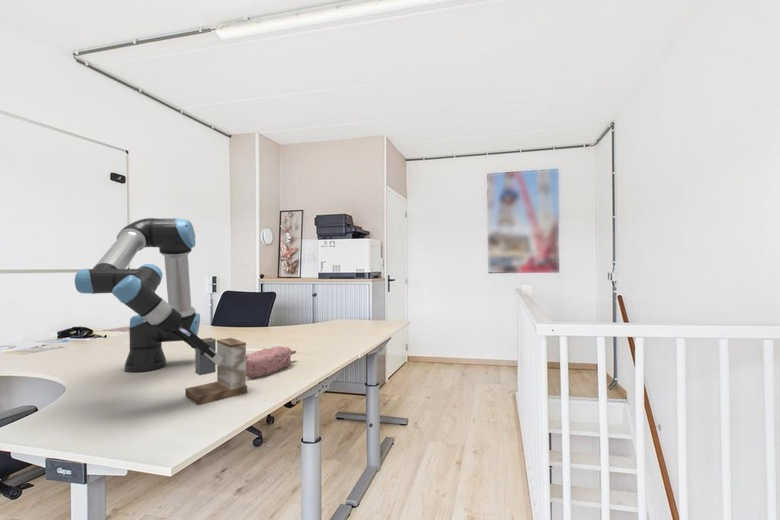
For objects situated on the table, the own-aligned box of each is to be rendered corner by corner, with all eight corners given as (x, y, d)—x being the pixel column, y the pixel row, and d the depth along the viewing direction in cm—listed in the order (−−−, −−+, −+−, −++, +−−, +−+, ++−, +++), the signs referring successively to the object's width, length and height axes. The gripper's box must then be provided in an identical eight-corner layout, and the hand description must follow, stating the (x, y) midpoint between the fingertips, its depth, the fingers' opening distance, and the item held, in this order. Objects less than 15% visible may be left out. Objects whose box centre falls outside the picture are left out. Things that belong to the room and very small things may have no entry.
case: (199, 375, 125) (199, 341, 125) (195, 372, 128) (195, 339, 128) (215, 372, 129) (215, 339, 129) (211, 369, 132) (211, 337, 132)
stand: (198, 405, 121) (198, 350, 121) (185, 395, 130) (185, 344, 130) (247, 392, 133) (247, 342, 133) (232, 384, 141) (232, 337, 141)
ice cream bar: (305, 343, 172) (255, 359, 145) (305, 363, 172) (255, 382, 145) (283, 341, 178) (230, 355, 151) (283, 360, 178) (230, 377, 151)
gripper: (145, 323, 124) (200, 365, 135) (161, 329, 112) (219, 374, 123) (164, 305, 128) (215, 347, 139) (181, 309, 116) (235, 355, 127)
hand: (217, 360), depth 131 cm, fingers closed on case, 4 cm apart
